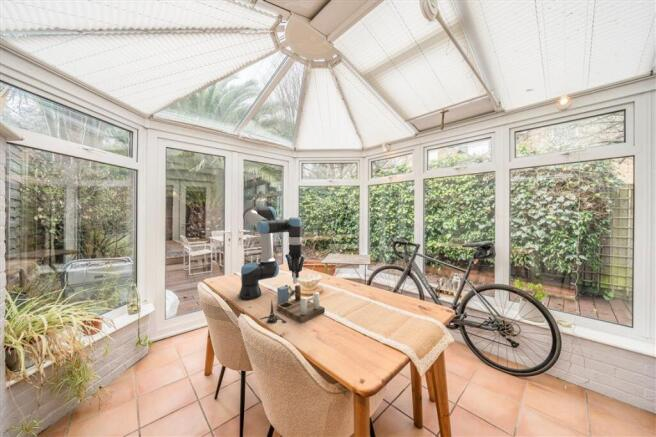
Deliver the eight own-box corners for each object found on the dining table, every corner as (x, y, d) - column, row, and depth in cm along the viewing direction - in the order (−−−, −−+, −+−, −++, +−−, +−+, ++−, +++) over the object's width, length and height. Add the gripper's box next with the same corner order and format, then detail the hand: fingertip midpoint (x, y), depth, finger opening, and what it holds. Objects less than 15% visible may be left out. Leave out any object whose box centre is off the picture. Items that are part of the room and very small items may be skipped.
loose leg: (277, 304, 158) (277, 287, 157) (284, 301, 161) (283, 285, 161) (282, 306, 154) (281, 289, 154) (288, 304, 158) (288, 287, 157)
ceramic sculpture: (276, 287, 164) (282, 281, 179) (276, 299, 164) (282, 293, 179) (291, 287, 163) (296, 282, 178) (291, 300, 163) (296, 293, 178)
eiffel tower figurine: (288, 323, 133) (287, 299, 132) (272, 329, 126) (271, 305, 125) (274, 314, 144) (273, 292, 143) (258, 320, 137) (257, 297, 136)
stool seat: (277, 310, 149) (276, 291, 148) (299, 301, 161) (299, 284, 161) (301, 323, 132) (301, 302, 131) (324, 312, 145) (324, 293, 144)
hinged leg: (316, 306, 146) (316, 291, 146) (320, 307, 144) (320, 293, 143) (299, 313, 136) (299, 298, 136) (303, 315, 134) (303, 299, 133)
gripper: (307, 243, 141) (308, 282, 143) (289, 241, 147) (289, 279, 148) (301, 245, 134) (301, 286, 136) (282, 243, 140) (282, 283, 141)
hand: (295, 282), depth 142 cm, fingers closed
